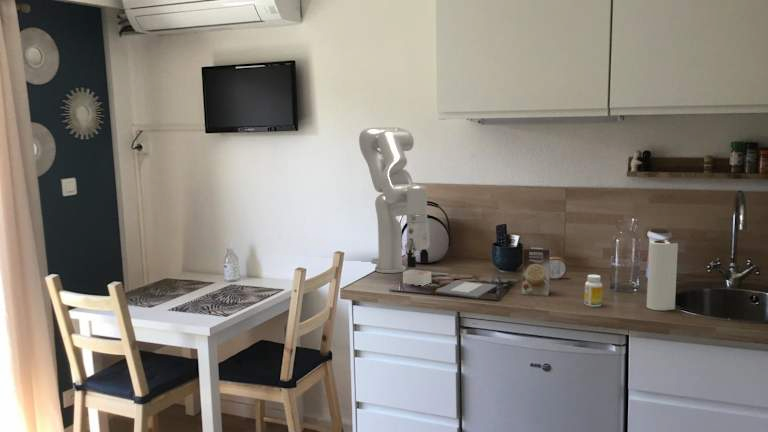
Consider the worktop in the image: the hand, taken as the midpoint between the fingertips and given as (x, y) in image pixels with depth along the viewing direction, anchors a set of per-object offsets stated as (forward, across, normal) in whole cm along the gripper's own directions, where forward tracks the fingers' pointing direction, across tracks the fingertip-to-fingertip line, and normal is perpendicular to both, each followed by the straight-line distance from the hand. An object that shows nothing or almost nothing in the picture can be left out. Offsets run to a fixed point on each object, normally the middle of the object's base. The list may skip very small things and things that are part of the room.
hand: (418, 264), depth 240 cm
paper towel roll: (+10, +7, -82) cm, 83 cm away
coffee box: (+8, +8, -42) cm, 44 cm away
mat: (+8, +1, -19) cm, 21 cm away
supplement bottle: (+9, +2, -63) cm, 64 cm away
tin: (+8, +30, -39) cm, 50 cm away
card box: (+7, +1, +1) cm, 7 cm away
